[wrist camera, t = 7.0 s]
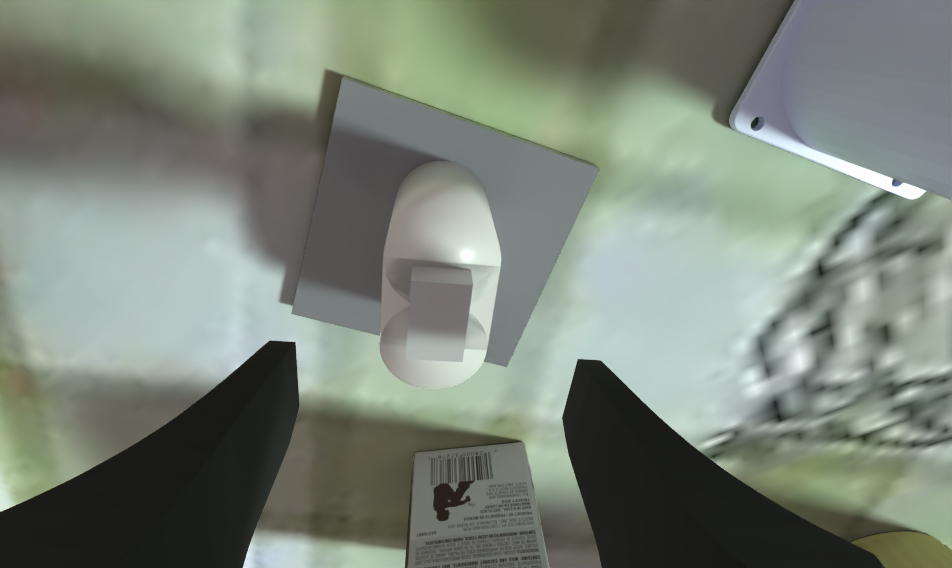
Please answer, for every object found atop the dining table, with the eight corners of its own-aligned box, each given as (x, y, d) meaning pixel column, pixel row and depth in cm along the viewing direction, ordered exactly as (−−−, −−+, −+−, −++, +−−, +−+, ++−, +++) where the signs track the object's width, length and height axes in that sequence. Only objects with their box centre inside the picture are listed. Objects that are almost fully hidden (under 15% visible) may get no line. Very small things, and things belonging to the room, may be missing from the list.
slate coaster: (595, 165, 20) (599, 168, 19) (505, 359, 24) (506, 367, 24) (345, 75, 18) (342, 77, 17) (294, 306, 22) (291, 313, 22)
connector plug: (493, 165, 19) (514, 224, 14) (472, 316, 22) (482, 411, 17) (397, 155, 19) (381, 212, 13) (390, 310, 22) (374, 406, 17)
